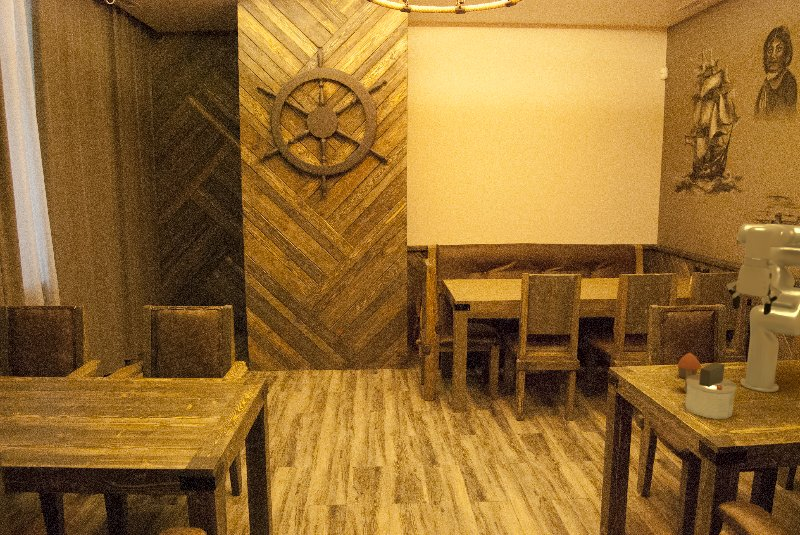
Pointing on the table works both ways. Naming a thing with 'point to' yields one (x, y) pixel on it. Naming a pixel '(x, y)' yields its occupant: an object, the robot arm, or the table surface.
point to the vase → (683, 372)
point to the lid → (712, 380)
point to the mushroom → (689, 365)
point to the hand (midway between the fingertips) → (751, 311)
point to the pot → (709, 403)
